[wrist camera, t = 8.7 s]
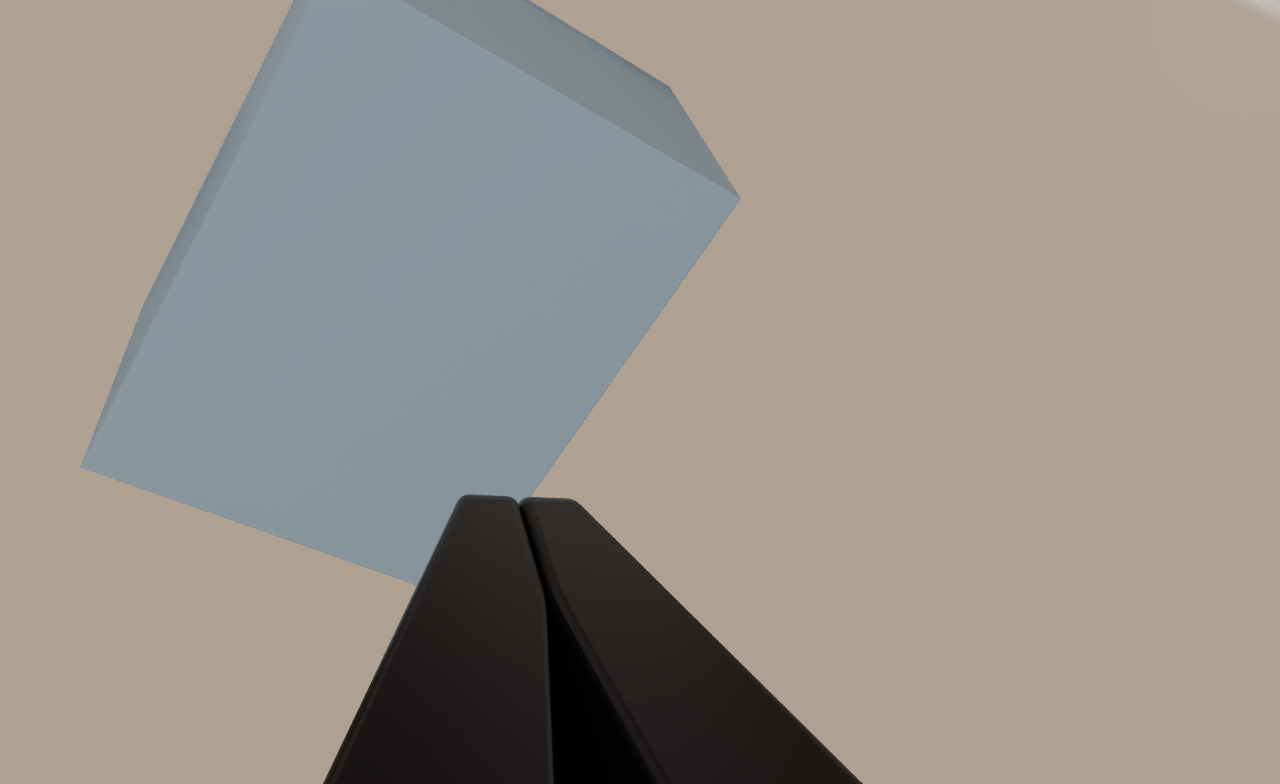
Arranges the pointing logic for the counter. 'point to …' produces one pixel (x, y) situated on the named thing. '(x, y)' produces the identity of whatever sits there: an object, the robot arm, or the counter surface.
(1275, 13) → the counter surface
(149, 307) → the slate block
